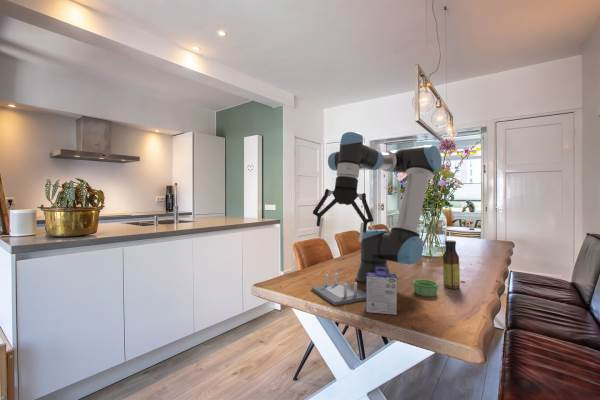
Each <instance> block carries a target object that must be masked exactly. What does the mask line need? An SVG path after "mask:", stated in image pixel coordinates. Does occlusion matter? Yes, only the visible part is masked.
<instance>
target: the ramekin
mask: <svg viewBox="0 0 600 400" xmlns="http://www.w3.org/2000/svg"><path fill="white" fill-rule="evenodd" d="M412 281H413V288H414V293H415V294H416V295H419V296H421V295H422V296H423V297H428V298H429V297H430V298H431V296H432V297H435V296H437V293H438V287H439V283H438V282H436V281H434V280H430V279H425V278H423V279H422V278H419V279H417V278H416V279H415V280H412Z"/></svg>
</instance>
